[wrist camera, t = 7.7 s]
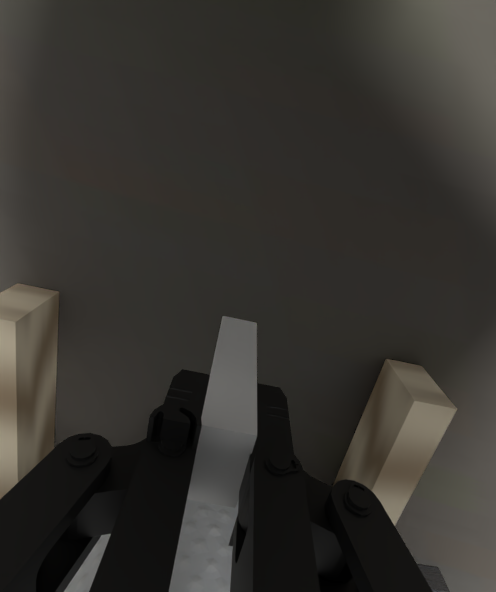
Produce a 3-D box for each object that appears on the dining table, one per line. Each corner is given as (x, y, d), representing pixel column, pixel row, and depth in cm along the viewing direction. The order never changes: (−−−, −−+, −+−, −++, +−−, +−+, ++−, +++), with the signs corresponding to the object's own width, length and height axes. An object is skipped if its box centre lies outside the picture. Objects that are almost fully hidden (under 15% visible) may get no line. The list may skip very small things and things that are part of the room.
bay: (18, 283, 17) (-68, 328, 13) (421, 365, 19) (477, 433, 14) (20, 560, 25) (-33, 654, 20) (310, 604, 26) (323, 700, 22)
